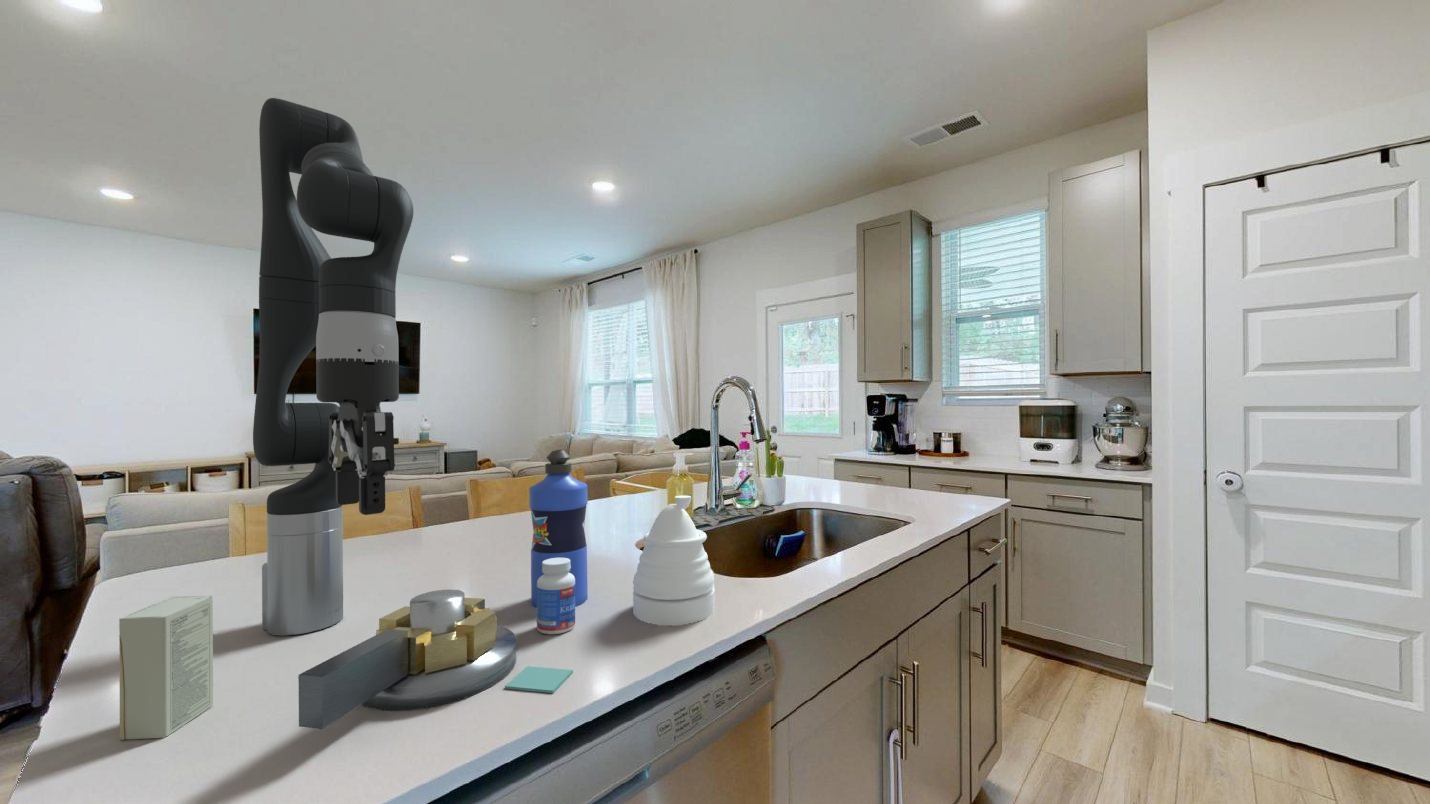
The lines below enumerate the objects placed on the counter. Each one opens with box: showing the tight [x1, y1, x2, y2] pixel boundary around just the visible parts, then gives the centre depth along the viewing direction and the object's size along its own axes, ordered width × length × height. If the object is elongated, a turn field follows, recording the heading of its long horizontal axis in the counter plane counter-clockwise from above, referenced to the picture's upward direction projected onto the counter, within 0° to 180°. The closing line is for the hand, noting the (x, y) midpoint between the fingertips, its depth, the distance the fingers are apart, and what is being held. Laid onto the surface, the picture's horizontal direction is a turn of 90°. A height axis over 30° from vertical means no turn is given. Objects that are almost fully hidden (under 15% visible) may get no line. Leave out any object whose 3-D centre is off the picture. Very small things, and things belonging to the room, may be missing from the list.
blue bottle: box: [528, 449, 589, 609], centre depth 94 cm, size 9×9×25 cm
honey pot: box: [632, 494, 716, 626], centre depth 89 cm, size 13×13×18 cm
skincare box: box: [118, 595, 214, 741], centre depth 58 cm, size 6×4×12 cm
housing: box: [360, 589, 517, 712], centre depth 69 cm, size 18×18×9 cm
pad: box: [504, 665, 574, 694], centre depth 67 cm, size 6×5×1 cm
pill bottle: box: [536, 558, 576, 635], centre depth 82 cm, size 6×5×10 cm
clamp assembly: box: [297, 597, 498, 731], centre depth 64 cm, size 24×13×5 cm, turn 169°
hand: (359, 508), depth 61 cm, fingers open, 8 cm apart
